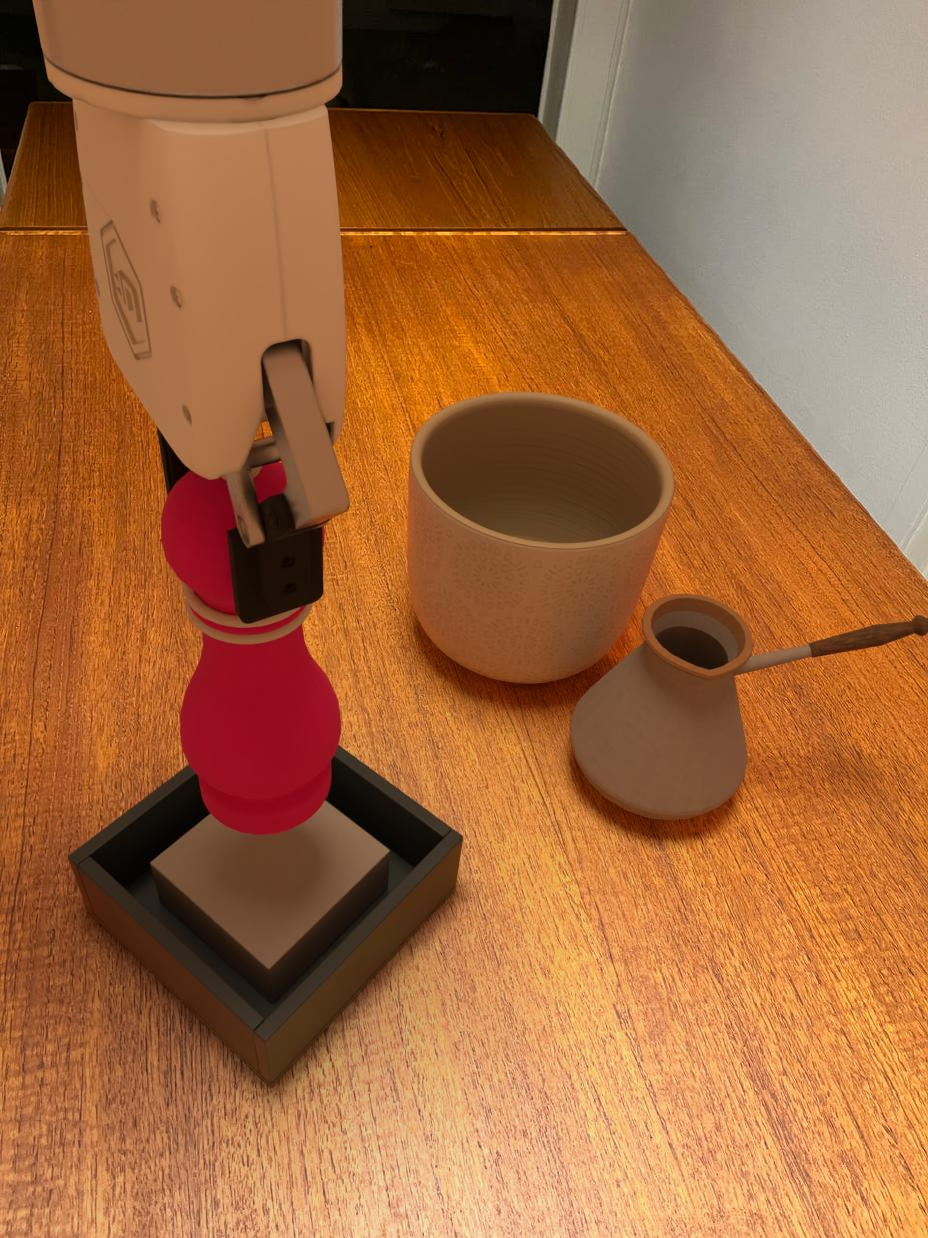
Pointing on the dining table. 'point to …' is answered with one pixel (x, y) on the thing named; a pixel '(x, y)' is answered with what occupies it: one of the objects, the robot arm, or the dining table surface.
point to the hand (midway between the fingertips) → (243, 548)
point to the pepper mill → (247, 676)
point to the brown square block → (272, 891)
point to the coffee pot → (685, 707)
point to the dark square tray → (204, 980)
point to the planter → (531, 531)
